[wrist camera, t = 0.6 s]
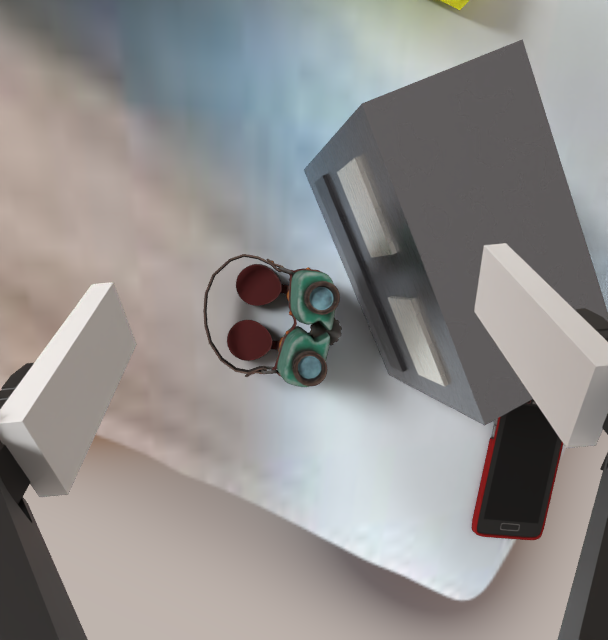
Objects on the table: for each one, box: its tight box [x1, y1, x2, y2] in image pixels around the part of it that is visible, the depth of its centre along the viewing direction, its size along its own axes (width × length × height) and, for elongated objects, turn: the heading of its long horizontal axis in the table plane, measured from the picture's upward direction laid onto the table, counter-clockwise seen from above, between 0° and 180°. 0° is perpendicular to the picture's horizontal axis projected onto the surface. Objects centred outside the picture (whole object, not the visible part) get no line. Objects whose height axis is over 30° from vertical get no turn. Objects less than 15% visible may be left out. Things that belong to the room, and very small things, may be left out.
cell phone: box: [472, 399, 563, 540], centre depth 43 cm, size 8×15×1 cm, turn 170°
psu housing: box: [304, 40, 608, 425], centre depth 32 cm, size 19×10×14 cm, turn 25°
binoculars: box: [204, 254, 342, 387], centre depth 32 cm, size 9×11×10 cm
